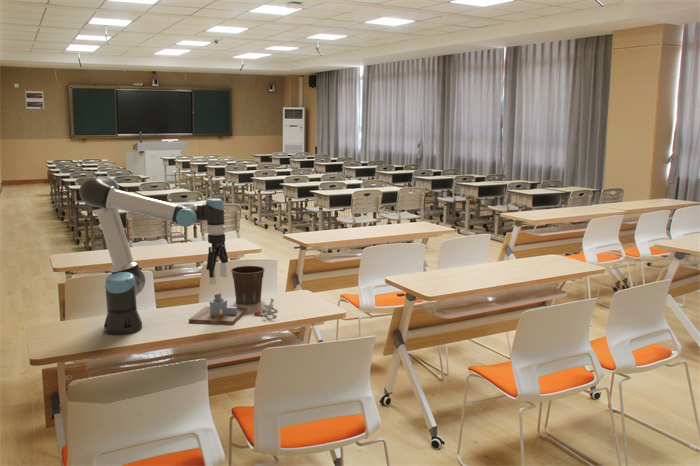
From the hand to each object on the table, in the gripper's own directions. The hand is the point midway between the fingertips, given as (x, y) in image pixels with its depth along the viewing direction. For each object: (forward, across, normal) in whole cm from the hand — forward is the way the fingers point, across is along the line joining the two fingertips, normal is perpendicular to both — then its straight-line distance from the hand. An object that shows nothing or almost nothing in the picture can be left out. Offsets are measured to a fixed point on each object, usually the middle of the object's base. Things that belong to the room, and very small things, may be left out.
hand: (218, 280), depth 265 cm
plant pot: (+17, +26, -6) cm, 31 cm away
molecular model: (+17, +5, -20) cm, 27 cm away
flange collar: (+15, 0, -2) cm, 15 cm away
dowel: (+15, -6, -3) cm, 17 cm away
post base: (+17, 0, 0) cm, 17 cm away
